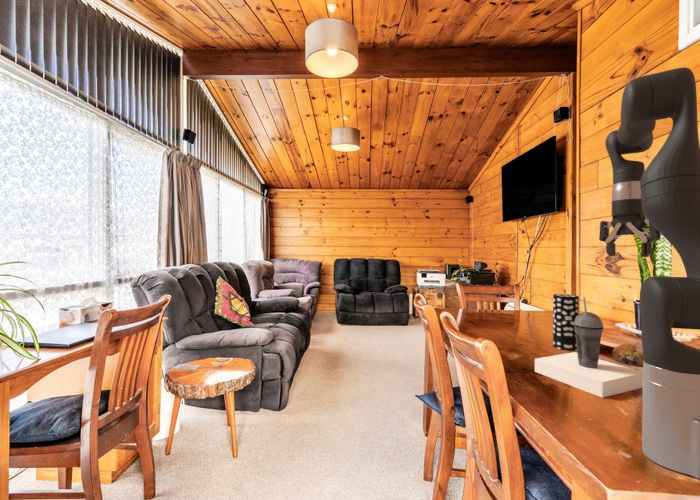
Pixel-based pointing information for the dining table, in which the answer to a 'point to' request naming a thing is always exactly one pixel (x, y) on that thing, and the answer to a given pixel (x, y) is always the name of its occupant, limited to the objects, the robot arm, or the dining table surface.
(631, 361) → the bread roll
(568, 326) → the spotted tube
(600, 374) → the shelf board
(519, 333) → the dining table surface
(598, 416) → the dining table surface
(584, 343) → the beverage cup
